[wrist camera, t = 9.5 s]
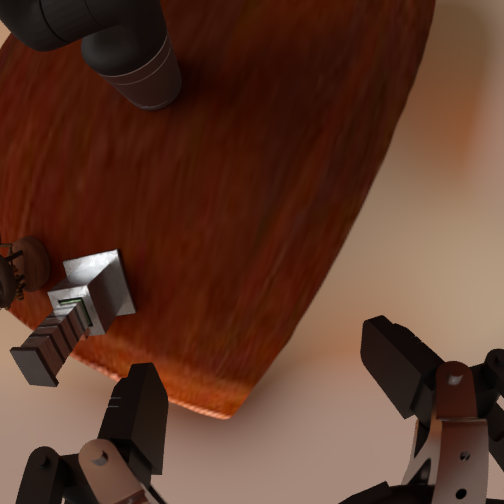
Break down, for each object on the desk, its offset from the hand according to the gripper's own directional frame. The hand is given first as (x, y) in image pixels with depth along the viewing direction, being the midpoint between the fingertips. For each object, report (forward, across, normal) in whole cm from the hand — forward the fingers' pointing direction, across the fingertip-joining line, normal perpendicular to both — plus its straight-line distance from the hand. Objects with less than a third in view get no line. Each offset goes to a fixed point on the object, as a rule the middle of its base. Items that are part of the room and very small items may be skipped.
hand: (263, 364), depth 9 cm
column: (+30, +25, +8) cm, 40 cm away
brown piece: (+36, +40, 0) cm, 54 cm away
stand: (+36, +25, +8) cm, 45 cm away
